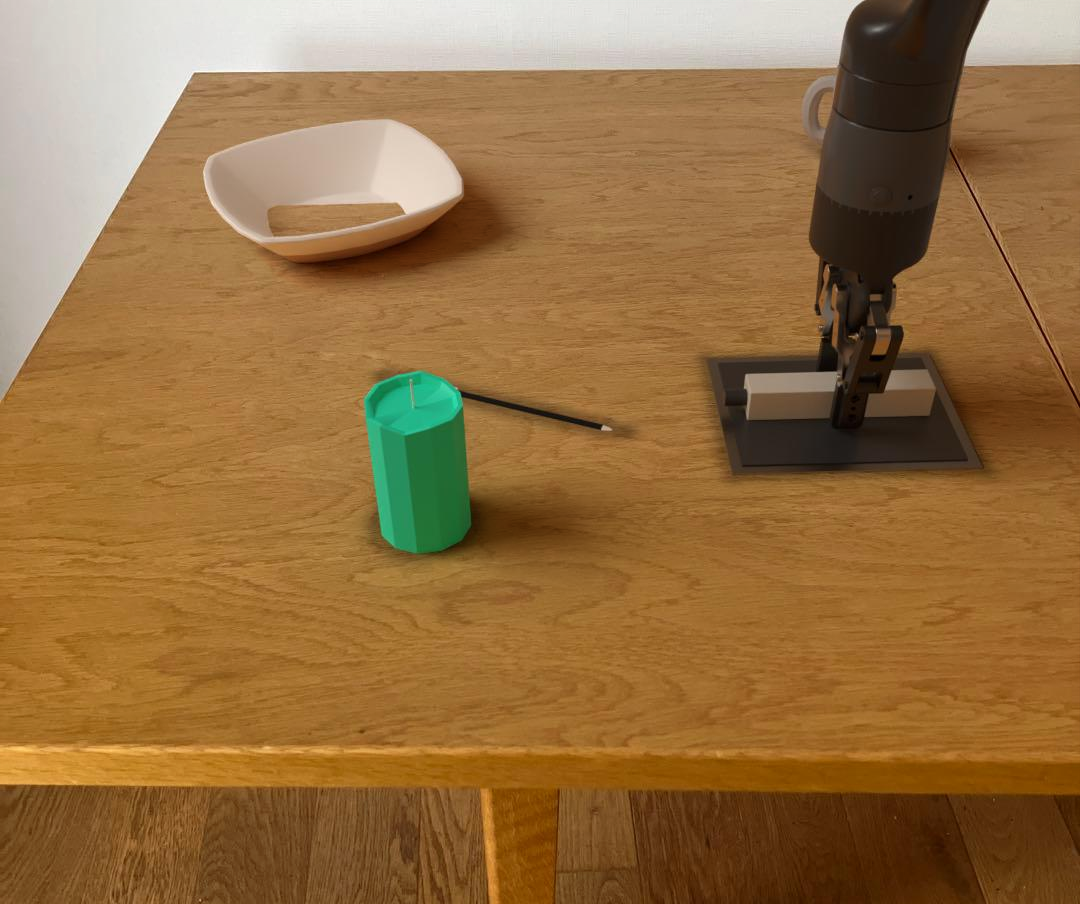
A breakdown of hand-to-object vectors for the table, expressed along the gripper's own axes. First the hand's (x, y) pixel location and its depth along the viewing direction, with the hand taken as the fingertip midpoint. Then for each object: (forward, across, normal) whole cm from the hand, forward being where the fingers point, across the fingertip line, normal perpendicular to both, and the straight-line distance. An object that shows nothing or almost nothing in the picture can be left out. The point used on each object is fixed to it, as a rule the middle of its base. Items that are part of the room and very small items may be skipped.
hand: (837, 402), depth 86 cm
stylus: (0, 0, 0) cm, 0 cm away
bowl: (+2, +31, +39) cm, 50 cm away
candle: (+2, -11, +29) cm, 31 cm away
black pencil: (+2, +2, +24) cm, 24 cm away
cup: (+2, +43, -10) cm, 44 cm away
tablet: (+2, 0, 0) cm, 2 cm away
